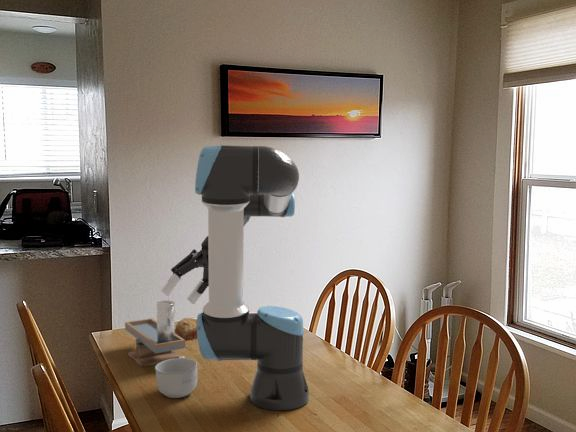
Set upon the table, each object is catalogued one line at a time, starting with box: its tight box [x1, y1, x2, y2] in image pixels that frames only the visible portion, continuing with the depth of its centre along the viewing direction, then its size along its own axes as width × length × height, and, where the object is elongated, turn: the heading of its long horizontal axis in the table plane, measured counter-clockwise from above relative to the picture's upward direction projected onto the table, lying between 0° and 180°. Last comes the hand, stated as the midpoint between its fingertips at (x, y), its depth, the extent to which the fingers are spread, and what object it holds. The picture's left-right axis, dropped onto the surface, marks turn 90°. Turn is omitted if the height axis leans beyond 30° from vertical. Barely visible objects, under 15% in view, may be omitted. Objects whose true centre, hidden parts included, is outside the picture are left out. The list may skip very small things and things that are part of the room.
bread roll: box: [175, 317, 198, 341], centre depth 207 cm, size 10×10×8 cm
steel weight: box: [156, 300, 176, 344], centre depth 175 cm, size 5×5×12 cm
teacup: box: [154, 355, 198, 399], centre depth 159 cm, size 14×11×8 cm
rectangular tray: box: [124, 318, 186, 353], centre depth 184 cm, size 26×11×3 cm, turn 34°
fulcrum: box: [127, 342, 181, 368], centre depth 184 cm, size 12×12×5 cm
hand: (177, 297), depth 179 cm, fingers open, 13 cm apart
